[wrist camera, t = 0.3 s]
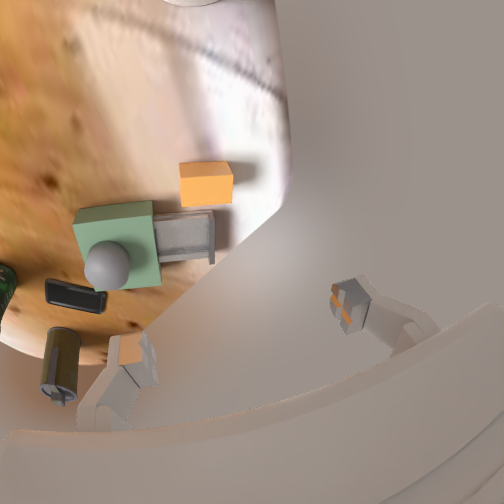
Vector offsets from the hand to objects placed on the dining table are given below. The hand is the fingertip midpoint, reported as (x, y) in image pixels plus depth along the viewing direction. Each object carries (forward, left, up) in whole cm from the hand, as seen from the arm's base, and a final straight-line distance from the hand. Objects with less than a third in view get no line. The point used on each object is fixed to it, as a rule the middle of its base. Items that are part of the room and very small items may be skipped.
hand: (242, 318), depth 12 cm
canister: (+53, -38, -38) cm, 76 cm away
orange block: (+11, +3, -38) cm, 40 cm away
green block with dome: (+23, -13, -38) cm, 46 cm away
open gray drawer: (+23, -1, -38) cm, 45 cm away
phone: (+37, -28, -39) cm, 60 cm away
